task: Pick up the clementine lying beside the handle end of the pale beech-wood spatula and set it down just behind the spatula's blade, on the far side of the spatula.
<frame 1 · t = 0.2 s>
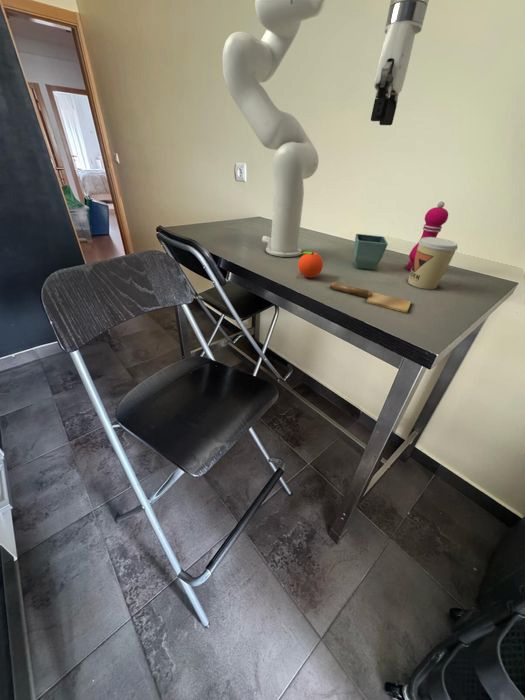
hand: (381, 123, 71), 36 cm above the table, tool pointing down, fingers open, 9 cm apart
spatula: (367, 297, 72), on the table
pepper mill: (416, 270, 93), on the table
clementine: (306, 277, 83), on the table
coffee cup: (421, 284, 82), on the table
flower pot: (363, 267, 92), on the table
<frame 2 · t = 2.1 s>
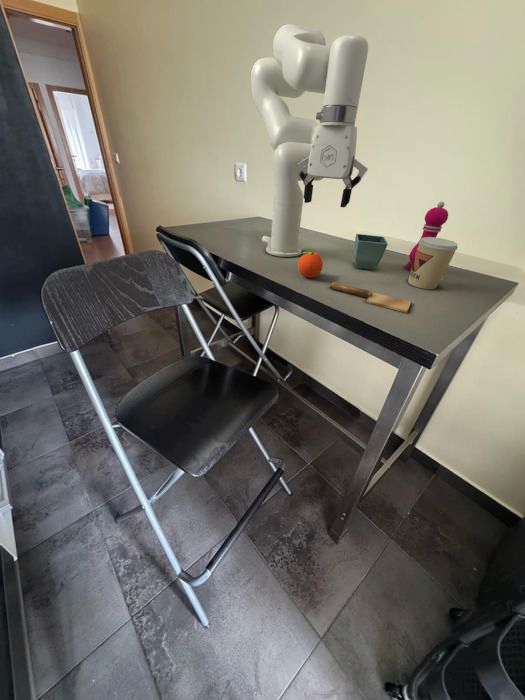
hand: (325, 204, 73), 19 cm above the table, tool pointing down, fingers open, 9 cm apart
nothing on the table moved.
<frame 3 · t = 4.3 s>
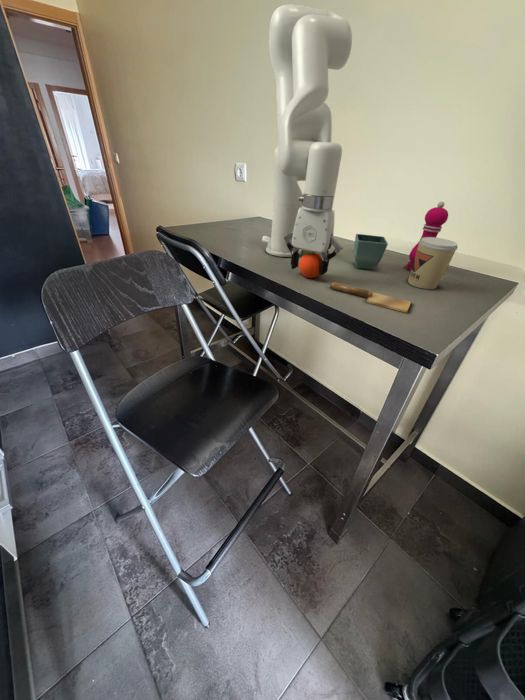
hand: (308, 270, 81), 2 cm above the table, tool pointing down, fingers closed on clementine, 8 cm apart
clementine: (307, 277, 83), on the table, touching gripper
everything else where it was.
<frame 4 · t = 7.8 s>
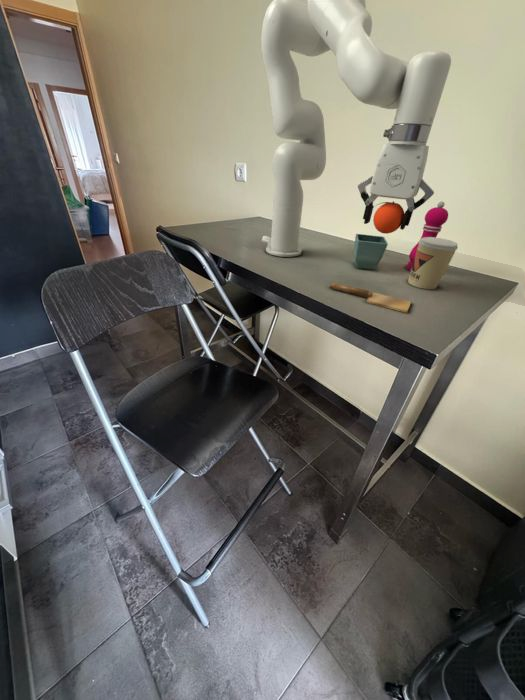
hand: (384, 225, 70), 16 cm above the table, tool pointing down, fingers closed on clementine, 8 cm apart
clementine: (381, 233, 71), point 14 cm above the table, touching gripper
everything else where it was.
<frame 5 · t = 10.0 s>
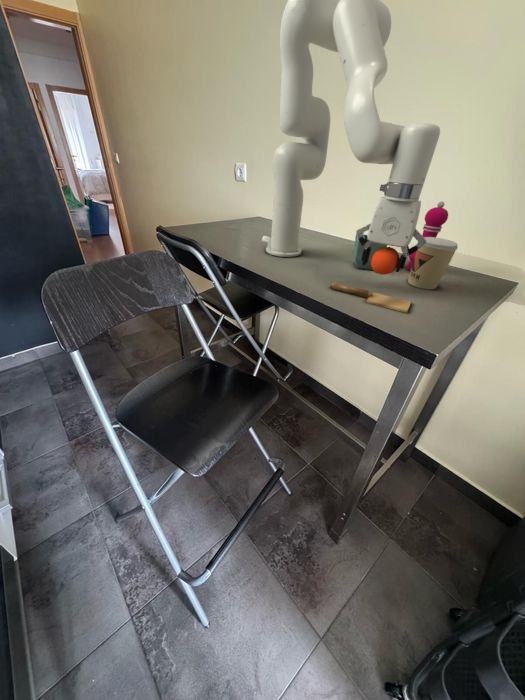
hand: (380, 267, 75), 6 cm above the table, tool pointing down, fingers closed on clementine, 8 cm apart
clementine: (378, 274, 76), point 4 cm above the table, touching gripper
everything else where it was.
when the fingers open (2 cm above the table, at t = 11.6 s): clementine stays where it is, on the table.
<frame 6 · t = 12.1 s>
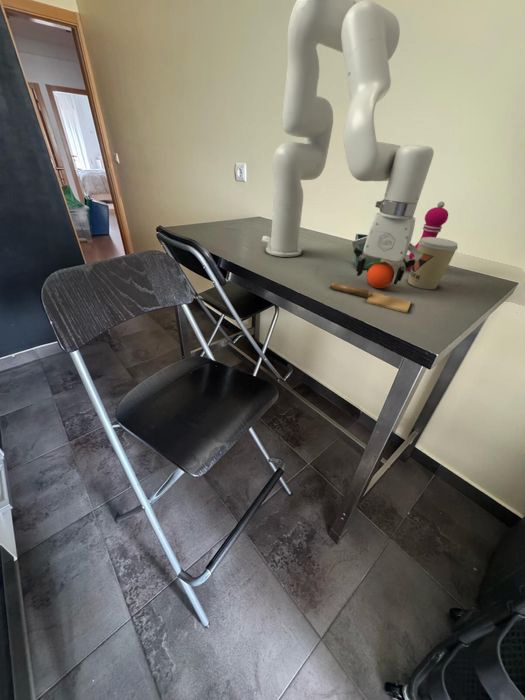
hand: (377, 278, 77), 2 cm above the table, tool pointing down, fingers open, 9 cm apart
clementine: (374, 287, 79), on the table
everything else where it was.
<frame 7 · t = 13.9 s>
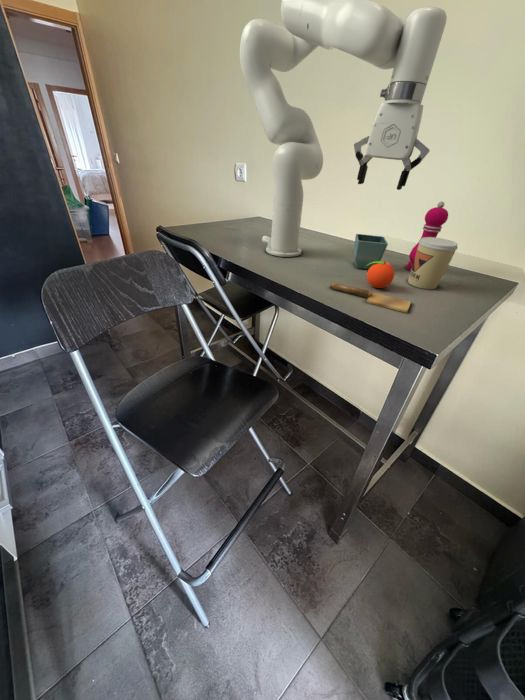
hand: (379, 186, 72), 23 cm above the table, tool pointing down, fingers open, 9 cm apart
nothing on the table moved.
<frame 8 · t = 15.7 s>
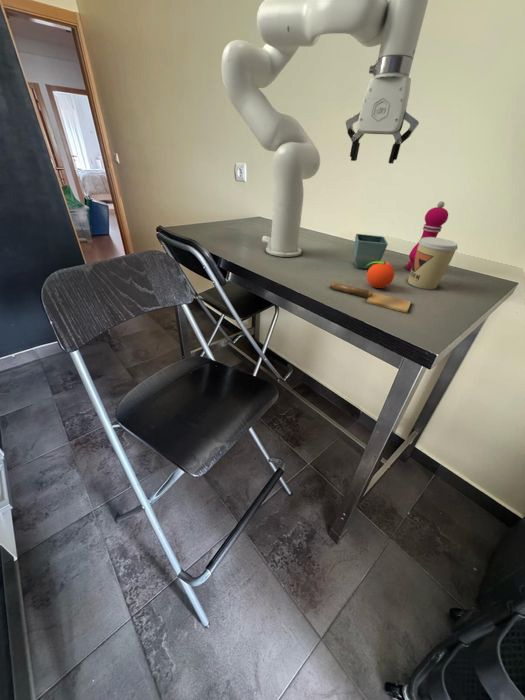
hand: (371, 162, 74), 28 cm above the table, tool pointing down, fingers open, 9 cm apart
nothing on the table moved.
at the end: clementine inside the target area (0.5 cm from its centre), on the table; the gripper is holding nothing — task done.
